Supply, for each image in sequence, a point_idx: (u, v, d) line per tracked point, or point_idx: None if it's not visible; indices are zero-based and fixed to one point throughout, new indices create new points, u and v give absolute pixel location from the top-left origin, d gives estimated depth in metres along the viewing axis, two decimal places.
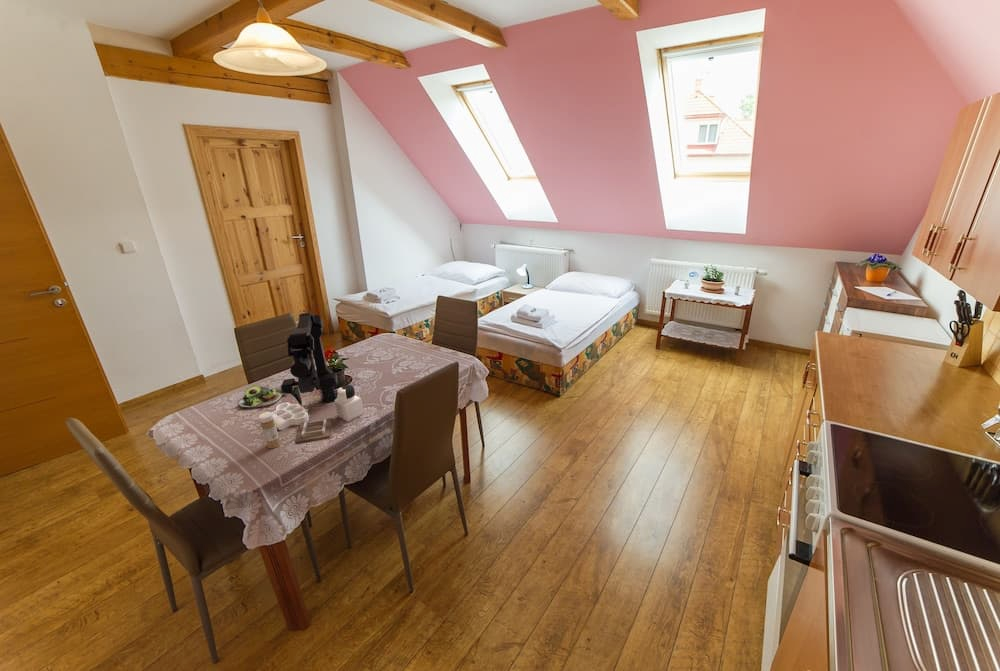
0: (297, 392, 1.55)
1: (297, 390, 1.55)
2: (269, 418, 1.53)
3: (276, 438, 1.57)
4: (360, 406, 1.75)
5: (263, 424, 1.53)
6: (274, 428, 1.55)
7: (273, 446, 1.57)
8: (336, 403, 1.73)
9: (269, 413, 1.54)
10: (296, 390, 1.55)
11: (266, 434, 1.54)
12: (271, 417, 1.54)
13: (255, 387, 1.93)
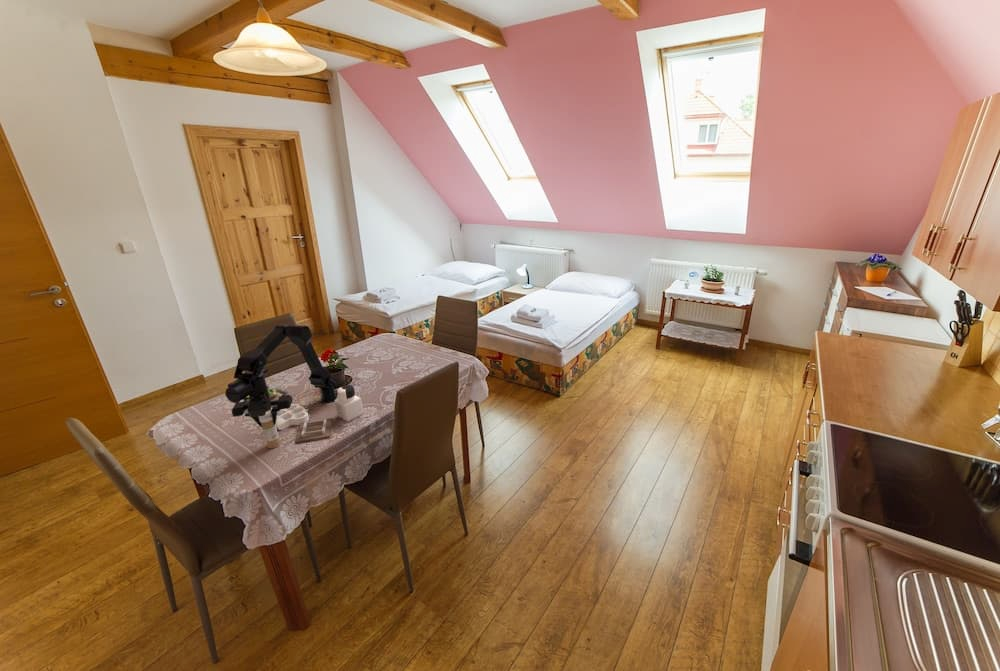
0: None
1: None
2: (269, 418, 1.53)
3: (276, 438, 1.57)
4: (360, 406, 1.75)
5: (263, 424, 1.53)
6: (274, 428, 1.55)
7: (273, 446, 1.57)
8: (336, 403, 1.73)
9: (269, 413, 1.54)
10: None
11: (266, 434, 1.54)
12: (271, 417, 1.54)
13: None
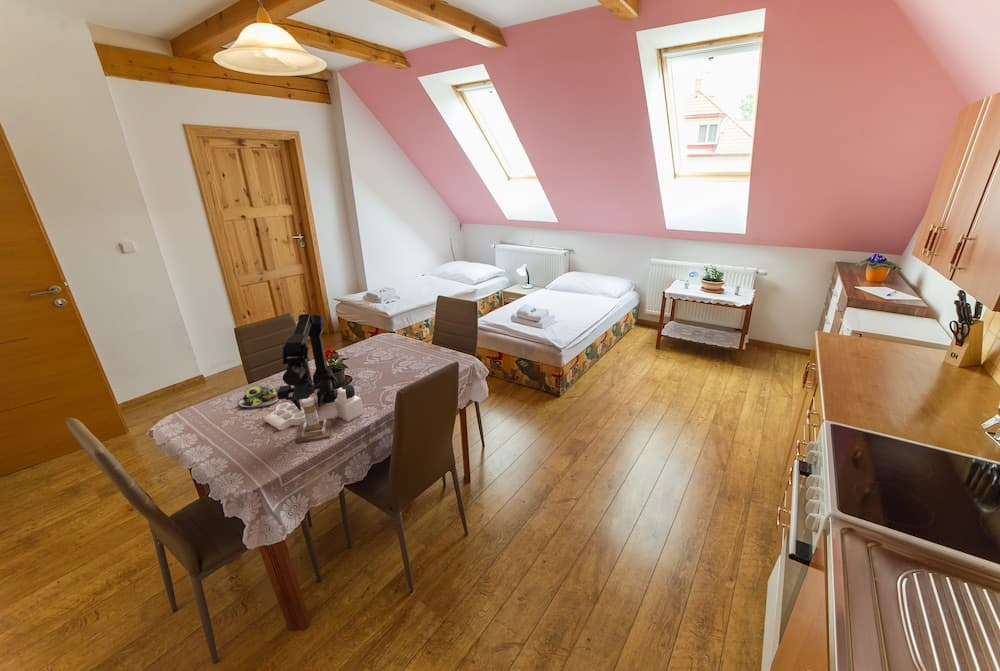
0: None
1: None
2: (311, 403, 1.60)
3: (317, 422, 1.64)
4: (360, 406, 1.75)
5: (306, 408, 1.60)
6: (315, 412, 1.63)
7: (314, 430, 1.64)
8: (336, 403, 1.73)
9: (311, 398, 1.62)
10: None
11: (308, 418, 1.62)
12: (313, 402, 1.61)
13: (255, 387, 1.93)
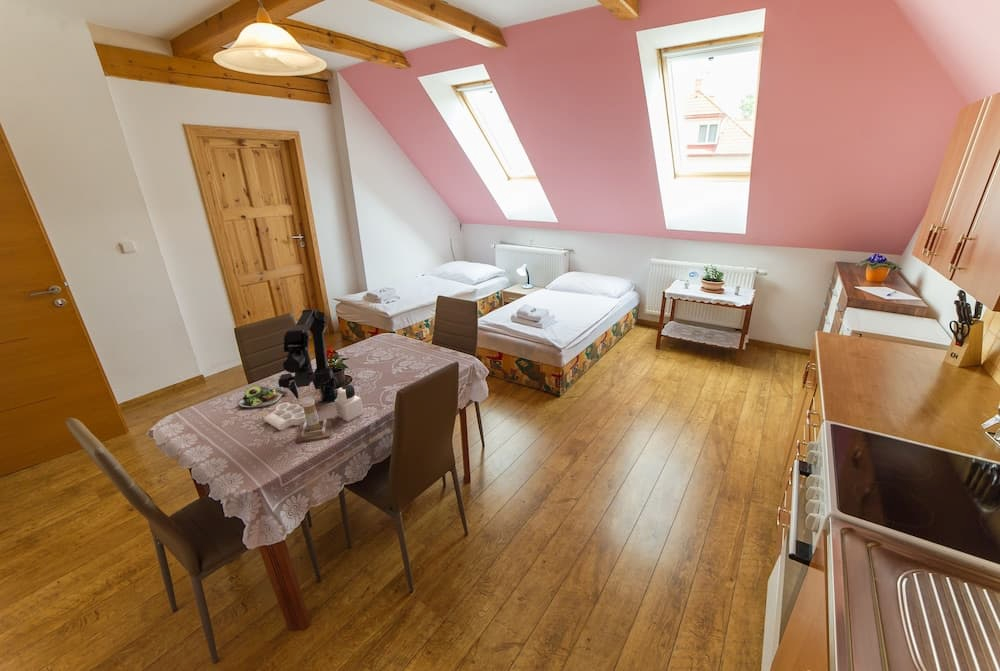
0: (294, 386, 1.63)
1: (293, 384, 1.63)
2: (311, 403, 1.60)
3: (317, 422, 1.64)
4: (360, 406, 1.75)
5: (305, 408, 1.60)
6: (315, 413, 1.63)
7: (314, 430, 1.64)
8: (336, 403, 1.73)
9: (311, 398, 1.62)
10: (293, 384, 1.62)
11: (308, 418, 1.62)
12: (313, 402, 1.61)
13: (255, 387, 1.93)
